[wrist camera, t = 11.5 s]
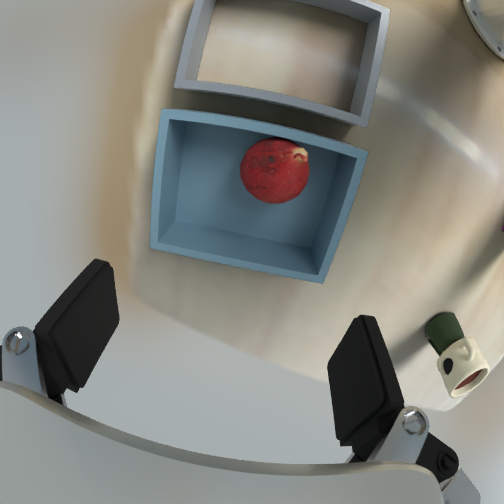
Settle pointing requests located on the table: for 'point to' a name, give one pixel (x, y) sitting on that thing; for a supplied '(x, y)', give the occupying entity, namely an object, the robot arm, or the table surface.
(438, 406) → the table surface
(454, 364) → the character mug
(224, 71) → the table surface
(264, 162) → the onion
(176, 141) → the blue bin
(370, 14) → the grey crate
